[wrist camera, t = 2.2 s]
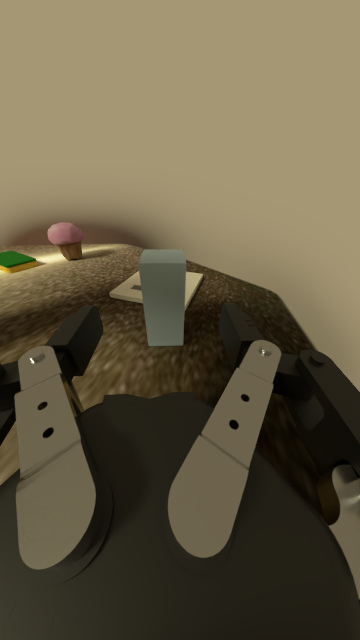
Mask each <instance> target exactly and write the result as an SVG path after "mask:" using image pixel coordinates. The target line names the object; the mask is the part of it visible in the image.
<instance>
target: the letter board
mask: <svg viewBox="0 0 360 640" xmlns="http://www.w3.org/2000/svg"><path fill="white" fill-rule="evenodd" d="M202 278H203V274H198V273H191V272H186V285H185V310H186V309H187V307H188V305H189V303H190V301H191V299H192V297H193V295H194V293H195V291H196V290H197V288H198V286H199V284H200V282H201V280H202ZM109 294H110V297H112V298H117V299H122V300H128V301H133V302H138V303H143V298H142V290H141V282H140V274H139V271H138V272H137V273H135V274H134V275H133V276H131V277H130V278H129V279H127V280H126V281H124V282H123V283H122V284H120V285H119V286H118V287H116V288H115V289H114V290H112V291H111V292H110V293H109Z"/></svg>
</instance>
